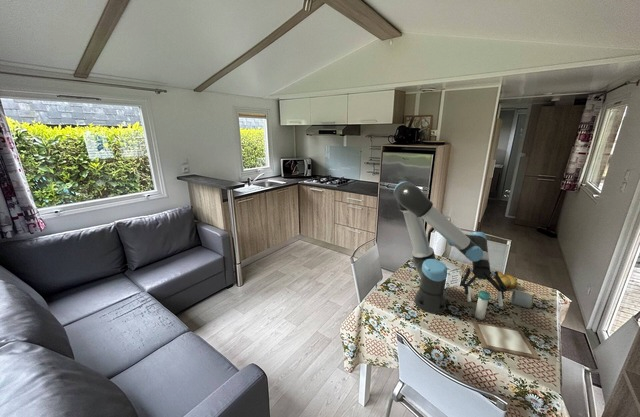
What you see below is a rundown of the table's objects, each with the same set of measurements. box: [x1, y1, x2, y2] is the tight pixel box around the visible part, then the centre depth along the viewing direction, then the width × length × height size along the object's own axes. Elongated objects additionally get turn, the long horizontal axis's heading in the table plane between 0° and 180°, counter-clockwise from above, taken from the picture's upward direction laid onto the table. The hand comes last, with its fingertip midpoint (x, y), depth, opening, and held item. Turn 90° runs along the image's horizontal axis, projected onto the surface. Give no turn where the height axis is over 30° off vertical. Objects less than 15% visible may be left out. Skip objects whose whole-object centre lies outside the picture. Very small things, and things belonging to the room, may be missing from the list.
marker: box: [473, 290, 491, 322], centre depth 122 cm, size 4×4×14 cm
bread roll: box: [492, 270, 519, 290], centre depth 149 cm, size 13×10×8 cm
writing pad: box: [472, 320, 541, 360], centre depth 111 cm, size 20×16×1 cm
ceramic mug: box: [510, 289, 534, 309], centre depth 134 cm, size 11×8×8 cm
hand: (484, 303), depth 122 cm, fingers open, 13 cm apart
